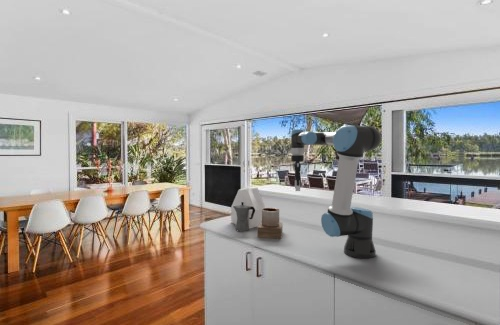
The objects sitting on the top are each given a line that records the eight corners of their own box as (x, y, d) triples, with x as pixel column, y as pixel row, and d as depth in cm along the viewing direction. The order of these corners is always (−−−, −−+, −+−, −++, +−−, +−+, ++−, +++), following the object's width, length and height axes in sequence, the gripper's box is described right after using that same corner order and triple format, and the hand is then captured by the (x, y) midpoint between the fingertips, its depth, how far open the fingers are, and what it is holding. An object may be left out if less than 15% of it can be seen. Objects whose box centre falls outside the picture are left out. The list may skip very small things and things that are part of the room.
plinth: (281, 238, 175) (281, 228, 175) (257, 237, 177) (257, 227, 177) (282, 231, 189) (282, 222, 188) (260, 230, 191) (260, 221, 191)
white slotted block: (265, 224, 207) (265, 189, 205) (248, 228, 197) (248, 191, 195) (247, 219, 221) (247, 186, 220) (231, 222, 211) (231, 188, 210)
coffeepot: (230, 230, 192) (230, 202, 191) (236, 226, 201) (236, 200, 200) (252, 232, 187) (252, 204, 186) (257, 228, 195) (257, 201, 194)
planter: (279, 222, 188) (279, 207, 187) (279, 227, 177) (279, 211, 176) (262, 222, 189) (262, 207, 188) (261, 227, 178) (261, 211, 177)
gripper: (290, 154, 194) (290, 187, 195) (291, 155, 169) (291, 192, 170) (302, 154, 193) (302, 187, 194) (305, 155, 169) (304, 192, 169)
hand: (297, 189), depth 182 cm, fingers open, 13 cm apart
